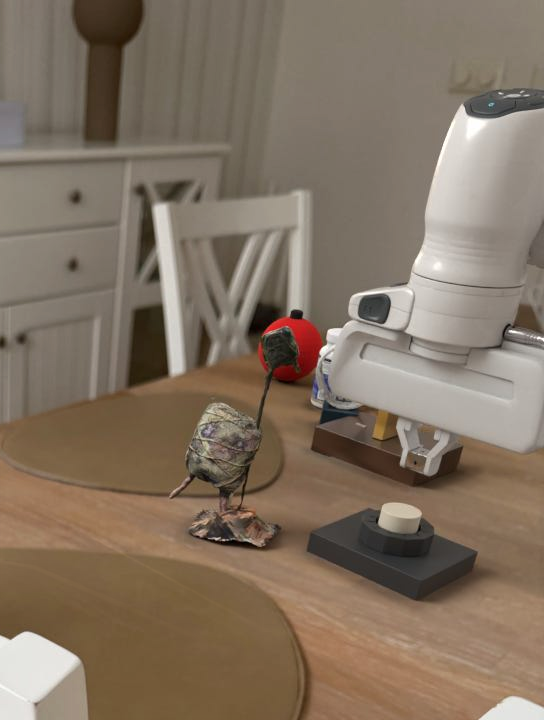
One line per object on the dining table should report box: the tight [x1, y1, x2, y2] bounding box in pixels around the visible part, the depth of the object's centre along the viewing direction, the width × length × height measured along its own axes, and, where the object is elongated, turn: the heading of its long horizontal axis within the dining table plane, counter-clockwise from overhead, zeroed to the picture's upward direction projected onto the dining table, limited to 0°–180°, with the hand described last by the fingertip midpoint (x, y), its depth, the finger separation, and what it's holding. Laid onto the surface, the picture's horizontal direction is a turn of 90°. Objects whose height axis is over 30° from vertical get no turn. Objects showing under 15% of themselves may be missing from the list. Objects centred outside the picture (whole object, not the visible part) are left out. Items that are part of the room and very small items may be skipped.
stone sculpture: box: [168, 326, 301, 548], centre depth 92 cm, size 8×11×20 cm
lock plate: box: [310, 411, 464, 488], centre depth 117 cm, size 14×10×3 cm
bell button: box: [378, 502, 423, 534], centre depth 91 cm, size 4×4×2 cm
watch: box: [315, 344, 363, 425], centre depth 123 cm, size 6×8×11 cm
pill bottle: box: [310, 327, 350, 410], centre depth 132 cm, size 6×6×10 cm
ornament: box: [258, 308, 323, 382], centre depth 141 cm, size 9×9×10 cm
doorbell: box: [306, 507, 479, 602], centre depth 92 cm, size 12×10×4 cm
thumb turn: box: [372, 410, 399, 440], centre depth 115 cm, size 5×1×4 cm, turn 131°
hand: (418, 470), depth 88 cm, fingers closed
